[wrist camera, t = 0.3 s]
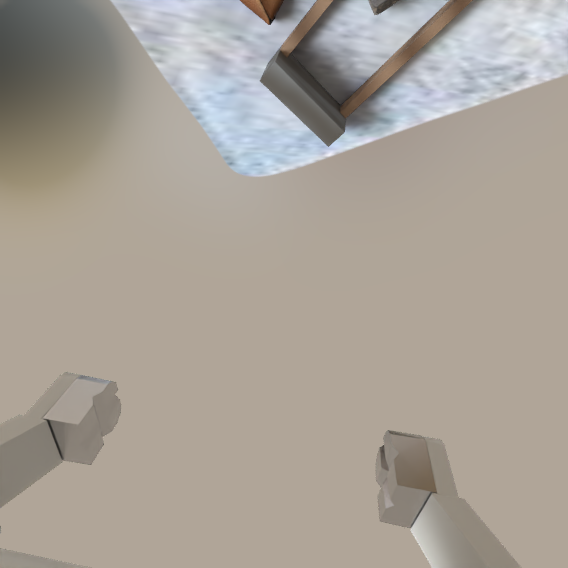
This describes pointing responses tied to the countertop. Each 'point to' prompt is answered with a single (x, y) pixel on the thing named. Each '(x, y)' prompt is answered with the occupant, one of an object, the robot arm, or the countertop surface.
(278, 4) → the sunglasses case
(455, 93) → the countertop surface
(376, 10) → the pipe
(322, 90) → the channel
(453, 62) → the countertop surface
